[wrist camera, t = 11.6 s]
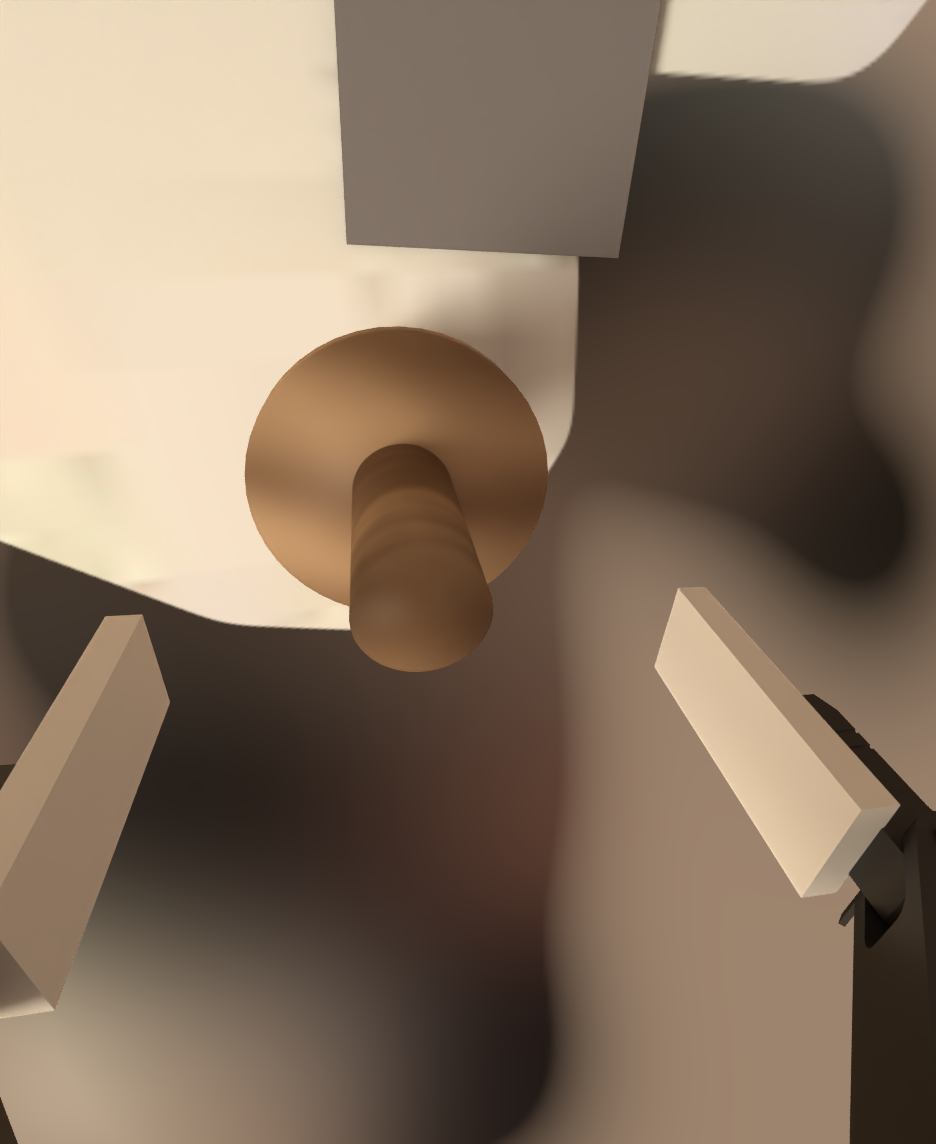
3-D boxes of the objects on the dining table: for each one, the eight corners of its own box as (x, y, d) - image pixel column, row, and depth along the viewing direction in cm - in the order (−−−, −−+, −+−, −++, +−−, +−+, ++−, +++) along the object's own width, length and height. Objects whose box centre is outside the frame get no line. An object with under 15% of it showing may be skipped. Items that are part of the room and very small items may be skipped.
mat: (324, -197, 22) (323, -207, 22) (678, -136, 25) (685, -143, 24) (347, 243, 30) (346, 244, 30) (614, 257, 33) (618, 258, 32)
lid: (225, 321, 20) (134, 398, 12) (557, 330, 22) (674, 401, 14) (270, 604, 26) (231, 780, 18) (524, 592, 28) (592, 745, 20)
